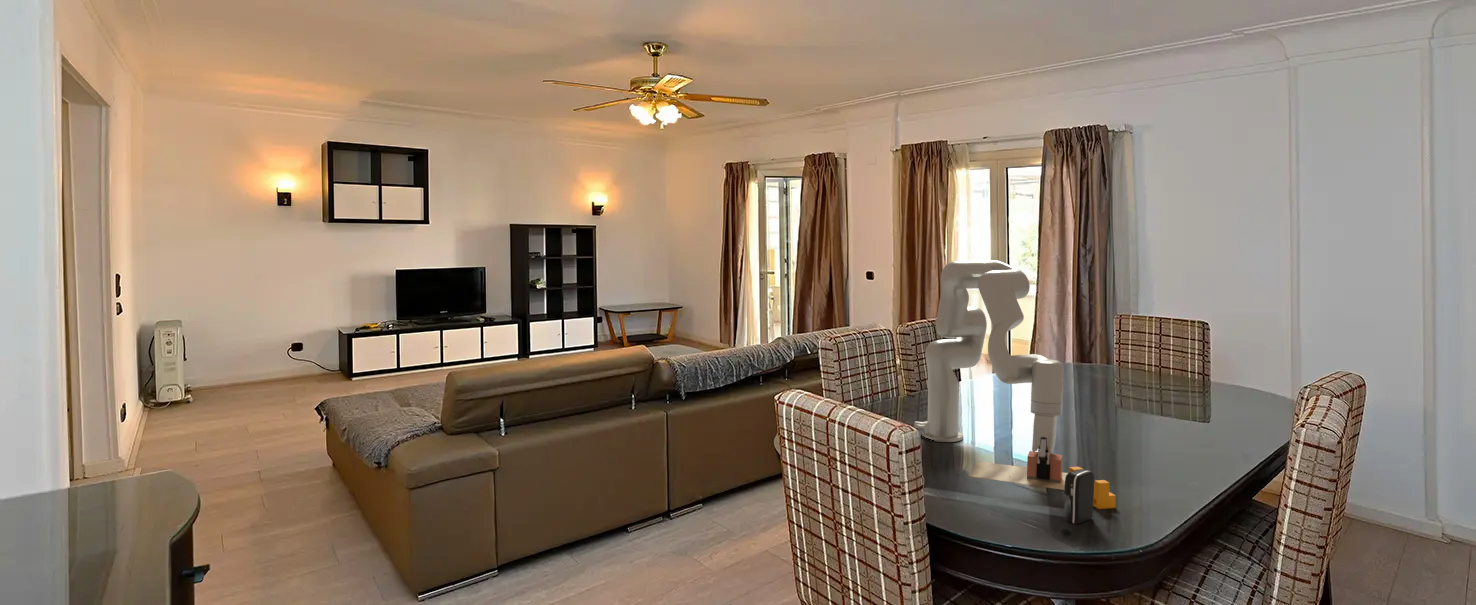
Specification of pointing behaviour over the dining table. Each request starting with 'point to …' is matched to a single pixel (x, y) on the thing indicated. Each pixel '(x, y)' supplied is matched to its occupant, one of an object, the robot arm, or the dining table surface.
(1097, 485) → the pipe clamp
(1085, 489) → the battery charger
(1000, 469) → the board
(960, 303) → the robot arm
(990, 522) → the dining table surface
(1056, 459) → the block
